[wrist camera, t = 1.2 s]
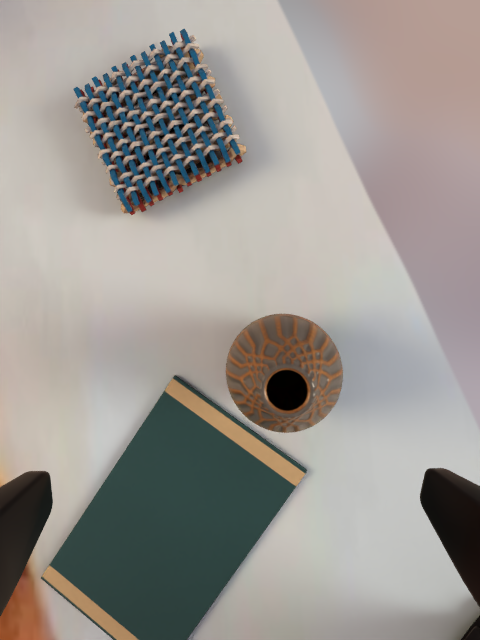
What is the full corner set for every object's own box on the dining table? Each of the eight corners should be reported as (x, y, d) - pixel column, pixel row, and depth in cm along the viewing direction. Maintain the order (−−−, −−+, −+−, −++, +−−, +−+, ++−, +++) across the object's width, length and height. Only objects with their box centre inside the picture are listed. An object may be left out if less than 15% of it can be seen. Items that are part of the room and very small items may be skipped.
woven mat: (195, 40, 22) (188, 12, 20) (251, 163, 21) (249, 147, 19) (80, 105, 23) (61, 85, 21) (130, 224, 22) (116, 214, 20)
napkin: (306, 469, 21) (307, 471, 20) (160, 673, 22) (159, 678, 22) (175, 375, 22) (174, 376, 21) (43, 574, 23) (40, 578, 23)
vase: (218, 378, 21) (182, 418, 13) (261, 298, 21) (255, 283, 12) (299, 425, 21) (319, 501, 12) (345, 343, 20) (401, 361, 12)
